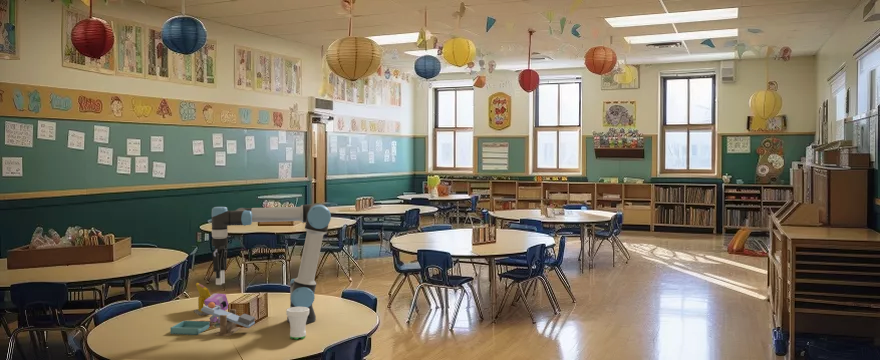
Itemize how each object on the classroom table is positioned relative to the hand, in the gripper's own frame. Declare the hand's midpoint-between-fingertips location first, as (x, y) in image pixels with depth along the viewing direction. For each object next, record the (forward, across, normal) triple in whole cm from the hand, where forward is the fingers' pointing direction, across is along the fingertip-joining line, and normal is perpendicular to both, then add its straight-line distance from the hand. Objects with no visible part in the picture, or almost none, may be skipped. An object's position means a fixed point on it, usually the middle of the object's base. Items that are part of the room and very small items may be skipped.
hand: (220, 283), depth 345 cm
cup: (+25, +6, +42) cm, 49 cm away
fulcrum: (+25, 0, +4) cm, 25 cm away
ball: (+11, 0, -5) cm, 12 cm away
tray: (+25, 0, -16) cm, 29 cm away
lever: (+17, 0, +4) cm, 17 cm away
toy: (+25, -18, -9) cm, 32 cm away
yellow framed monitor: (+25, -37, -26) cm, 52 cm away
